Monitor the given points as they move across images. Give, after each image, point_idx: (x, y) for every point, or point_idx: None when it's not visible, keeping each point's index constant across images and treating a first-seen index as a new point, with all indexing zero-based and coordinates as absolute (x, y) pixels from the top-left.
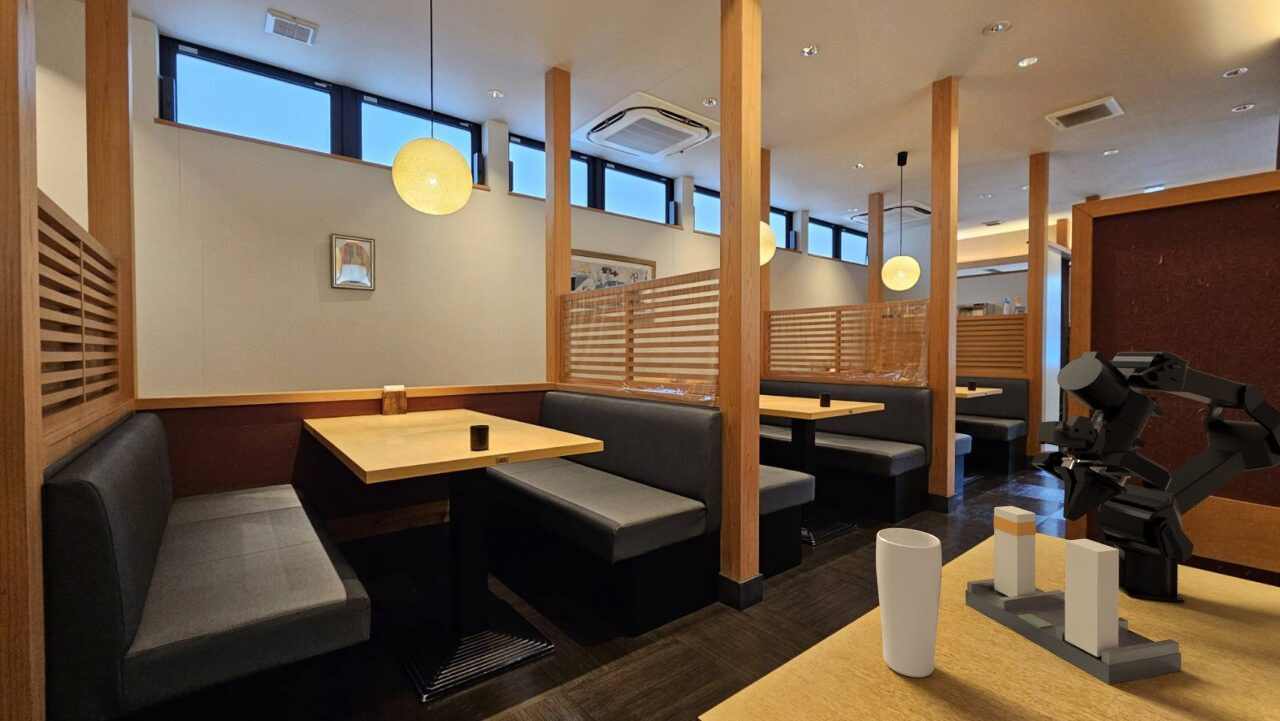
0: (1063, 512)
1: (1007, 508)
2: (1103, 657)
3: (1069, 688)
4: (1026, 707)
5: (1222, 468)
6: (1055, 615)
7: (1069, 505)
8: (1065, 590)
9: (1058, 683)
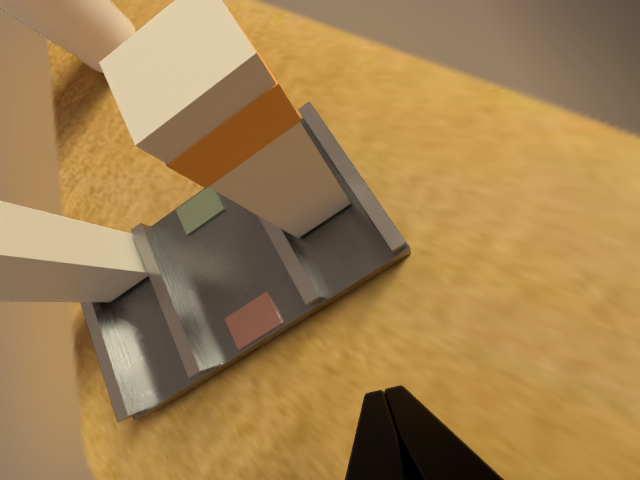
0: (414, 400)
1: (196, 29)
2: None
3: (98, 221)
4: (62, 163)
5: None
6: (234, 256)
7: (387, 455)
8: (43, 212)
9: (106, 211)
